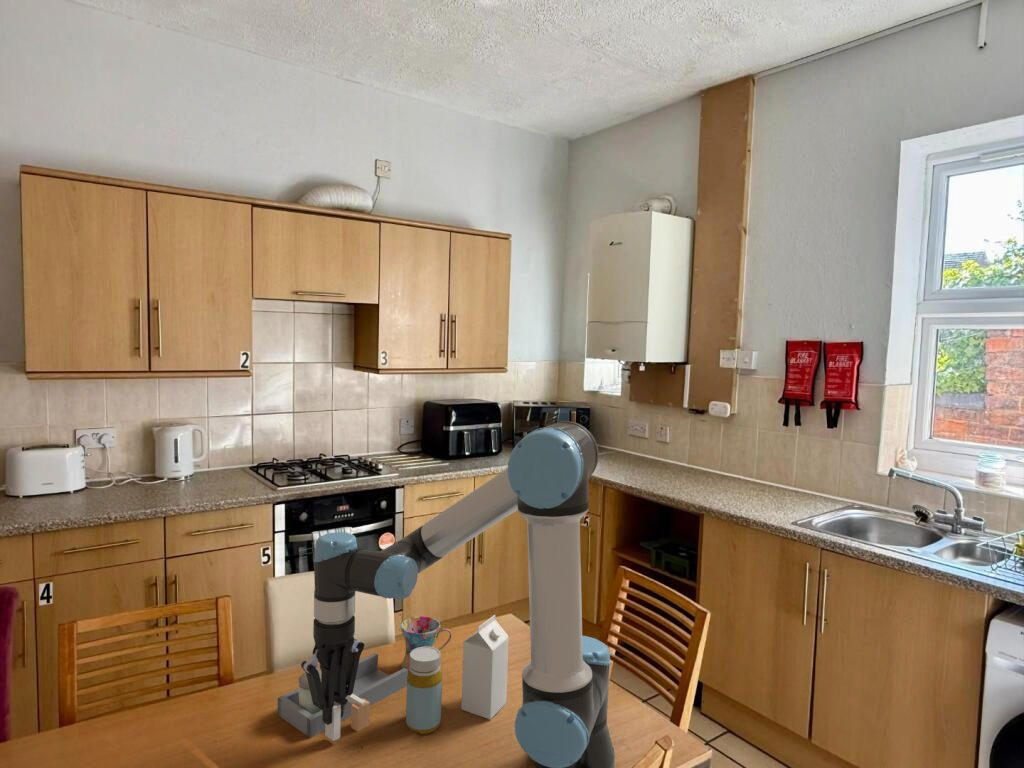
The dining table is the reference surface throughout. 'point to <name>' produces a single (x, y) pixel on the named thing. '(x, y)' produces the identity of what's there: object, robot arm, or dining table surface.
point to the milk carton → (485, 670)
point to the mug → (420, 635)
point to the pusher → (359, 712)
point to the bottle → (424, 690)
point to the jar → (306, 695)
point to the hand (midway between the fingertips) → (332, 736)
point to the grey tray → (367, 686)
